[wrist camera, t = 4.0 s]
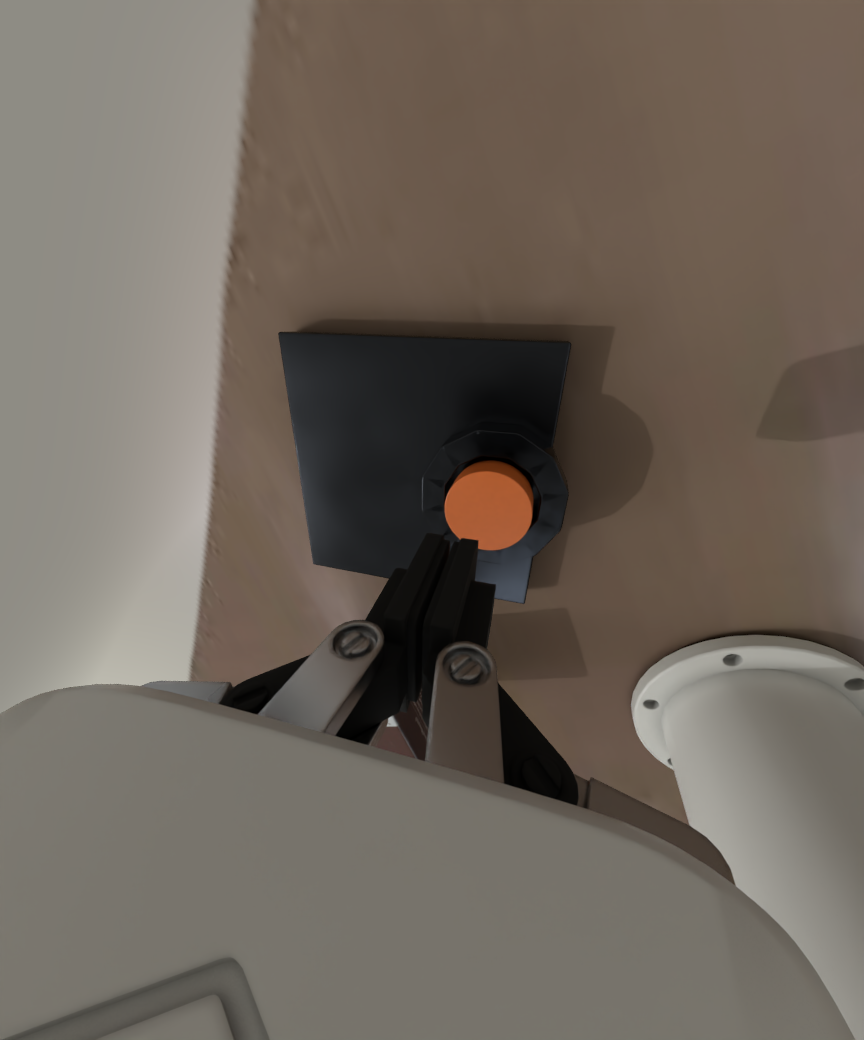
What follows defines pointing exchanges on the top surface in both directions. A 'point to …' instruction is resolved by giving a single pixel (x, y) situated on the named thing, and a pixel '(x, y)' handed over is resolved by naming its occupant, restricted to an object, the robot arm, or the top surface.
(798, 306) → the top surface
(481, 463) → the button
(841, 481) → the top surface
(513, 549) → the scale
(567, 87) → the top surface
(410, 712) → the box
